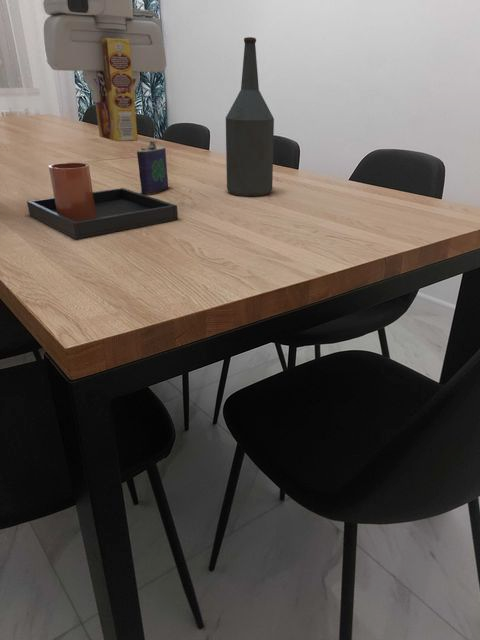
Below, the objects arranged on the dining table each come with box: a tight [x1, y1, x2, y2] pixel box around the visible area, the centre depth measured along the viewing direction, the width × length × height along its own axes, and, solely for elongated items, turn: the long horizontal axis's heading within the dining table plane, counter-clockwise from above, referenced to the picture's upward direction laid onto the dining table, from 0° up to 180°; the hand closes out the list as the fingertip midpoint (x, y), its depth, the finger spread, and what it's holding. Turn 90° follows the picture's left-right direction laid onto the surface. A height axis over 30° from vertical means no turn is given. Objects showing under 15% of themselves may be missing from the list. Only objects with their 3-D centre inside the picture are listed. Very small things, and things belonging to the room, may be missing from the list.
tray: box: [26, 187, 179, 240], centre depth 92 cm, size 20×20×3 cm
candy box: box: [94, 37, 138, 142], centre depth 85 cm, size 9×4×15 cm, turn 35°
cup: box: [48, 162, 96, 222], centre depth 87 cm, size 6×6×9 cm
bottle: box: [225, 36, 275, 198], centre depth 107 cm, size 10×10×30 cm
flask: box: [136, 139, 169, 196], centre depth 111 cm, size 9×3×11 cm, turn 157°
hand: (114, 102), depth 86 cm, fingers closed on candy box, 4 cm apart
